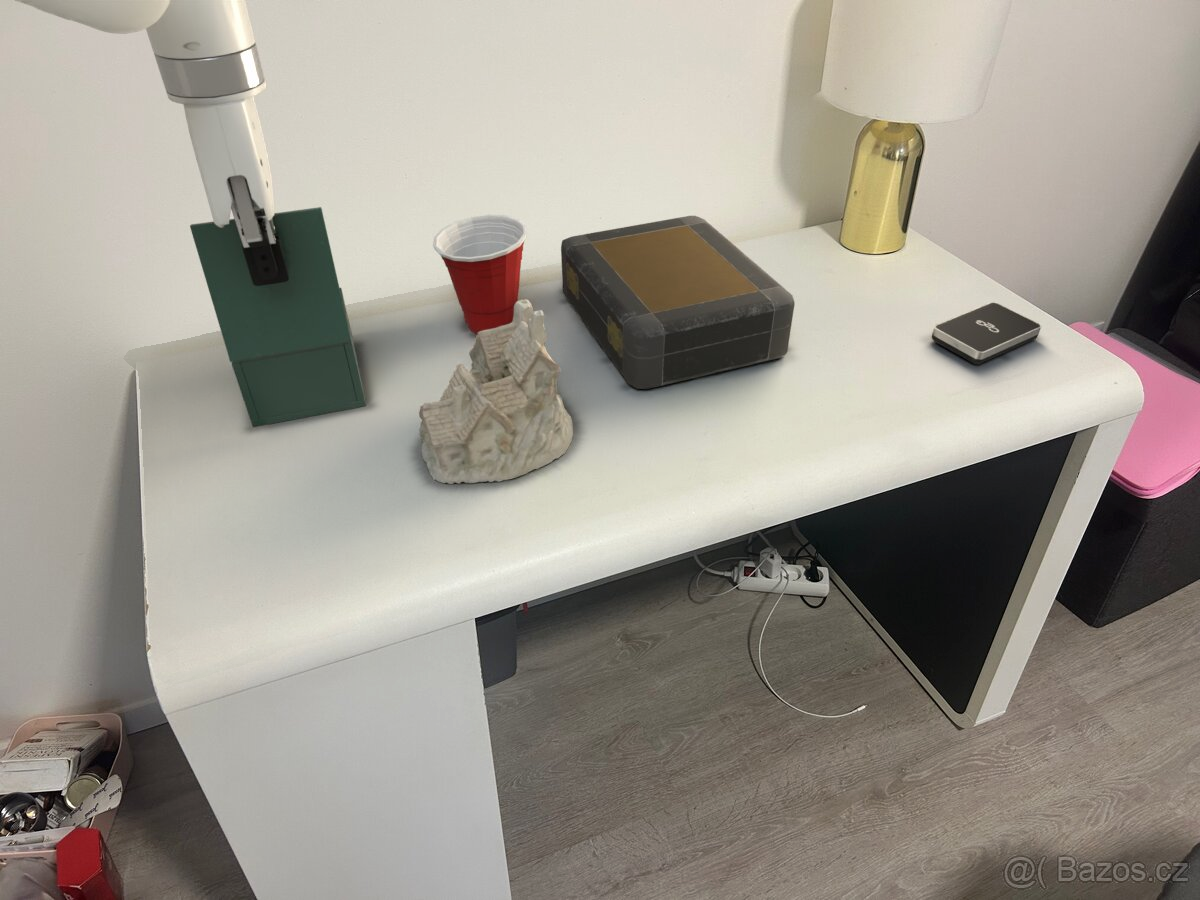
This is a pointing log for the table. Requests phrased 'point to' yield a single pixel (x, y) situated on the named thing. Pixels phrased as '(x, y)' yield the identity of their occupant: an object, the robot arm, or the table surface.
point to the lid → (274, 288)
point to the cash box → (674, 300)
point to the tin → (301, 382)
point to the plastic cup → (484, 267)
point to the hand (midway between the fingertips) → (271, 279)
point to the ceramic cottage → (498, 408)
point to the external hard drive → (985, 332)
